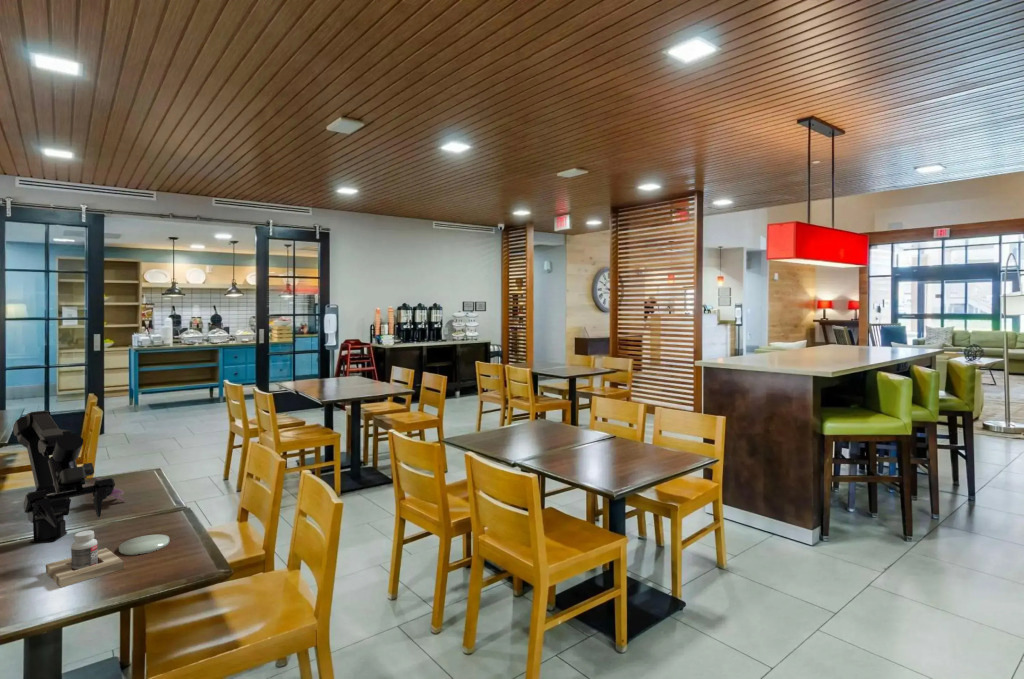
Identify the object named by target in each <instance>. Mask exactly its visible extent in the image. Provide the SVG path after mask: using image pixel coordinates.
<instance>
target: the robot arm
mask: <svg viewBox="0 0 1024 679" xmlns="http://www.w3.org/2000/svg"><path fill="white" fill-rule="evenodd" d="M12 428H13V435H14V436H16V438H17V442H18V444H20V445H21V446H23V447H24V448H26V450H27V454H28V459H29V462H30V467H31V472H32V476H33V481H34V485H35V491H31V492H27V494H26V495H25V497H24V501H23V510H24V513H26V514H27V520H28V521H29V522H30V523H31V524H32V529H33V530H32V531H33V532H32V533H33V534H32V536H33V537H32V539H31V540H29V544H30V543H33V544H34V543H46V542H48V543H49V542H56V541H57V540H60V539H61V538H62V537H64V536H65V535H67V534H68V531H67V530H66V528H67V526H66V519H64V517H65V516H69V514H70V507H71V503H72V499H71V498H76V497H80V496H81V497H82V496H85V495H91V494H92V496H93V501H92V502H93V506H94V509H95V514H96V516H97V518H101V514H102V508H103V501H104V500H106V499H107V497H110V496H109V495H111V494H112V491H113V489H114V487H115V485H116V483H115V480H114V478H112V477H104V478H100V479H99V480H98V479H95V481H94V483H93V485H90V486H84V485H85V484H86V479H87V478H88V476H93V475H94V473H95V470H94V469H95V468H94V465H93V462H87V463H84V464H83V465H82V466H78V464H77V461H76V460H78V459H79V456H80V452H81V450H82V447H83V444H84V439H83V437H81V436H80V435H79V434H76V433H73V432H72V430H68V429H61V428H60V427H58V425H57V423H56V422H55V421H54V419H53V418H52V415H51V412H50V410H39V411H38V410H37V411H36V410H35V411H31V412H27V414H26V415H25V416H23V417H21V418H18V419H16V420H15V422H14V424H13V426H12Z"/></svg>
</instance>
